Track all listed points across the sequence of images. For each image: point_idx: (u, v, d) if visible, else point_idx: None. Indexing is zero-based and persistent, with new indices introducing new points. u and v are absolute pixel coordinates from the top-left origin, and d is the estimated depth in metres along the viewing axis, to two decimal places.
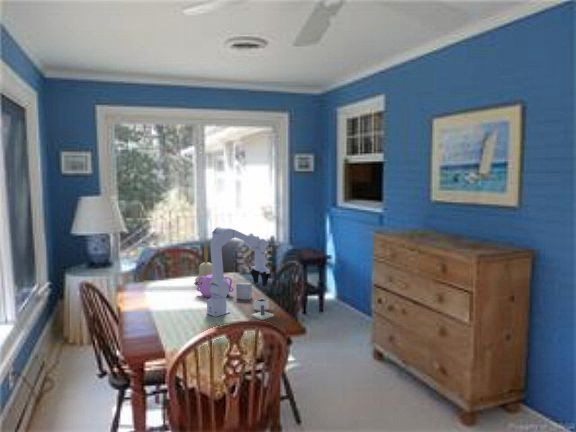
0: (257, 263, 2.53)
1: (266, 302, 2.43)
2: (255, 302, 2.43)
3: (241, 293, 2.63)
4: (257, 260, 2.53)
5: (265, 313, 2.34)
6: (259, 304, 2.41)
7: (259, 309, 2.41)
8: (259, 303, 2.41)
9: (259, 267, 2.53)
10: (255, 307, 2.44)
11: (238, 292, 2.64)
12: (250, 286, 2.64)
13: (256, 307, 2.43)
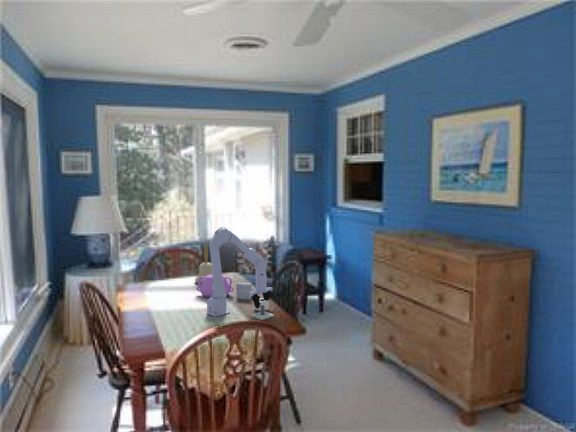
0: None
1: (266, 302, 2.43)
2: None
3: (241, 293, 2.63)
4: (256, 281, 2.41)
5: (265, 313, 2.34)
6: (259, 304, 2.41)
7: (259, 309, 2.41)
8: (259, 303, 2.41)
9: None
10: None
11: (238, 292, 2.64)
12: (250, 286, 2.64)
13: None
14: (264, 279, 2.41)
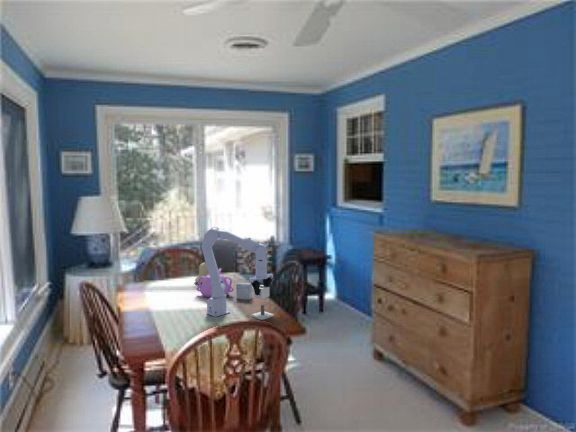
0: None
1: (266, 289, 2.37)
2: None
3: (241, 293, 2.63)
4: None
5: (265, 313, 2.34)
6: (259, 291, 2.35)
7: (259, 296, 2.35)
8: (259, 290, 2.35)
9: None
10: None
11: (238, 292, 2.64)
12: (250, 286, 2.64)
13: None
14: (263, 265, 2.34)
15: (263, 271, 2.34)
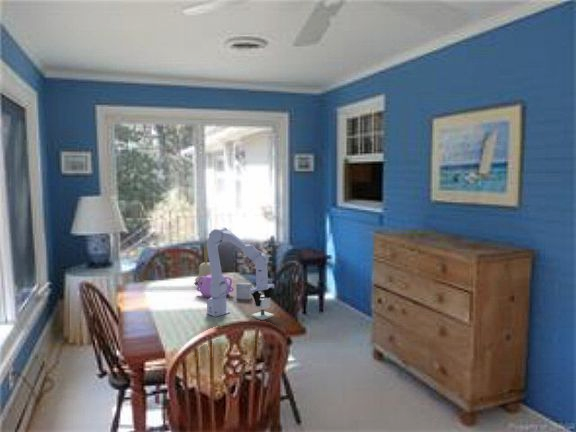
0: None
1: (267, 300, 2.31)
2: None
3: (241, 293, 2.63)
4: (256, 277, 2.31)
5: (265, 313, 2.34)
6: (260, 302, 2.29)
7: (260, 307, 2.29)
8: (260, 301, 2.29)
9: (256, 284, 2.31)
10: (255, 305, 2.32)
11: (238, 292, 2.64)
12: (250, 286, 2.64)
13: None
14: (263, 276, 2.28)
15: (264, 282, 2.29)
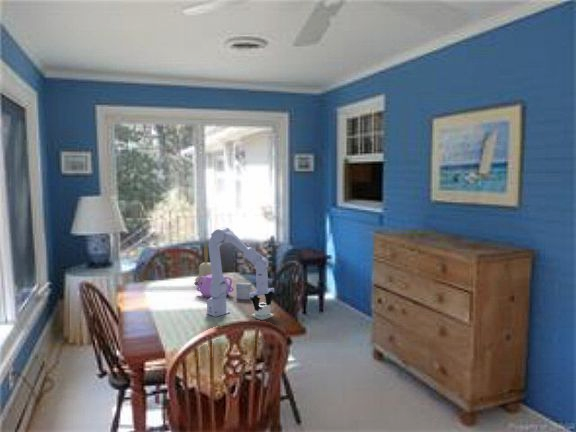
0: None
1: (267, 307, 2.31)
2: None
3: (241, 293, 2.63)
4: (256, 281, 2.31)
5: None
6: (260, 309, 2.29)
7: (260, 314, 2.30)
8: (260, 308, 2.29)
9: None
10: (256, 312, 2.32)
11: (238, 292, 2.64)
12: (250, 286, 2.64)
13: (257, 312, 2.31)
14: (263, 280, 2.28)
15: (264, 286, 2.29)
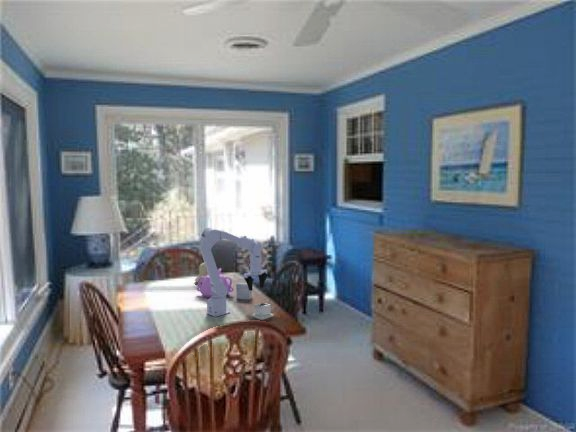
0: None
1: (267, 307, 2.31)
2: (256, 307, 2.32)
3: (241, 293, 2.63)
4: (251, 264, 2.44)
5: None
6: (260, 309, 2.29)
7: (260, 314, 2.30)
8: (260, 308, 2.29)
9: (250, 270, 2.47)
10: (256, 312, 2.32)
11: (238, 292, 2.64)
12: None
13: (257, 312, 2.31)
14: (259, 261, 2.45)
15: (257, 267, 2.44)
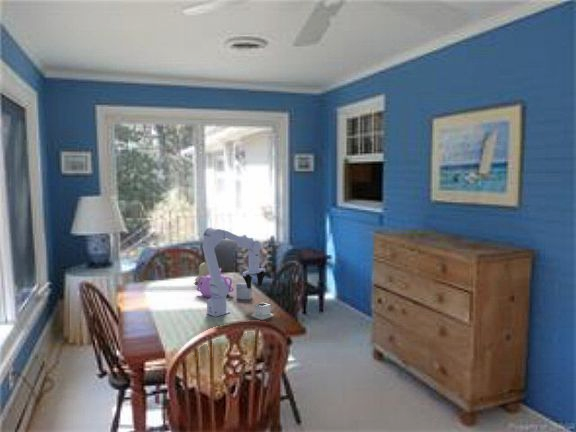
0: None
1: (267, 307, 2.31)
2: (256, 307, 2.32)
3: (241, 293, 2.63)
4: (251, 262, 2.48)
5: None
6: (260, 309, 2.29)
7: (260, 314, 2.30)
8: (260, 308, 2.29)
9: None
10: (256, 312, 2.32)
11: (238, 292, 2.64)
12: None
13: (257, 312, 2.31)
14: (258, 259, 2.49)
15: (256, 265, 2.48)
